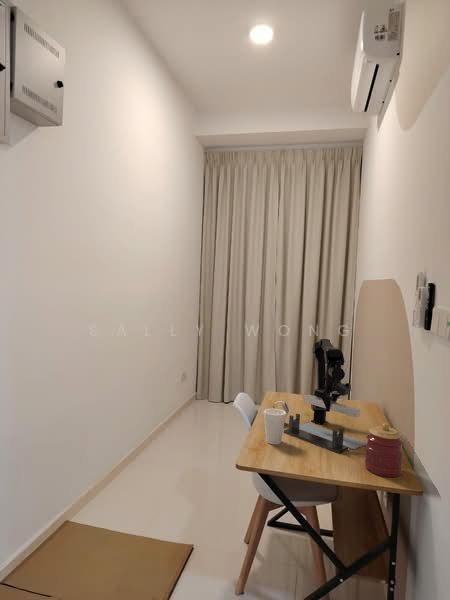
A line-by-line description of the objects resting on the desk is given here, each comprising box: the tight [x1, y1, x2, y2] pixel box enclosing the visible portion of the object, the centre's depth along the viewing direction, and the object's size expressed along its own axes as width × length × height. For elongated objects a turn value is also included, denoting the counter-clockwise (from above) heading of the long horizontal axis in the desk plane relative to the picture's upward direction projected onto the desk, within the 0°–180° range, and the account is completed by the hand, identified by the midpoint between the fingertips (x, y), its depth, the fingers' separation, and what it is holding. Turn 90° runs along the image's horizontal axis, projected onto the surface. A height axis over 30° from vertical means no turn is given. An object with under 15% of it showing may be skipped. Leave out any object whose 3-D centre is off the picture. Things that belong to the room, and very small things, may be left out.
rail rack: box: [283, 413, 349, 455], centre depth 178 cm, size 7×29×8 cm, turn 42°
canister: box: [364, 422, 404, 478], centre depth 151 cm, size 13×13×18 cm
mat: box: [299, 422, 367, 451], centre depth 185 cm, size 11×32×1 cm, turn 42°
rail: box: [302, 393, 361, 418], centre depth 185 cm, size 3×28×3 cm, turn 42°
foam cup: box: [263, 408, 287, 445], centre depth 175 cm, size 10×9×13 cm
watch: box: [272, 400, 290, 424], centre depth 199 cm, size 6×8×11 cm
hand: (330, 409), depth 185 cm, fingers closed on rail, 3 cm apart
